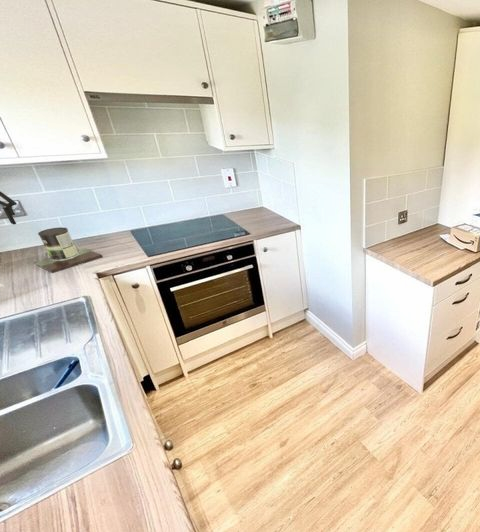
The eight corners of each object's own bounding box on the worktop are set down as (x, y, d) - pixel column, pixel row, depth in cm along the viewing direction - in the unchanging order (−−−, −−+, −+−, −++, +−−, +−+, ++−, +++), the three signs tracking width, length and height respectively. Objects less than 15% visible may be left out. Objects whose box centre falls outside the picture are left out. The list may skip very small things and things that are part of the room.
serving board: (52, 273, 151) (51, 270, 151) (36, 265, 157) (35, 262, 157) (102, 257, 168) (101, 254, 167) (86, 250, 174) (85, 248, 173)
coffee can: (53, 263, 157) (39, 236, 150) (50, 256, 163) (36, 230, 156) (81, 256, 164) (69, 230, 158) (77, 250, 170) (65, 225, 163)
